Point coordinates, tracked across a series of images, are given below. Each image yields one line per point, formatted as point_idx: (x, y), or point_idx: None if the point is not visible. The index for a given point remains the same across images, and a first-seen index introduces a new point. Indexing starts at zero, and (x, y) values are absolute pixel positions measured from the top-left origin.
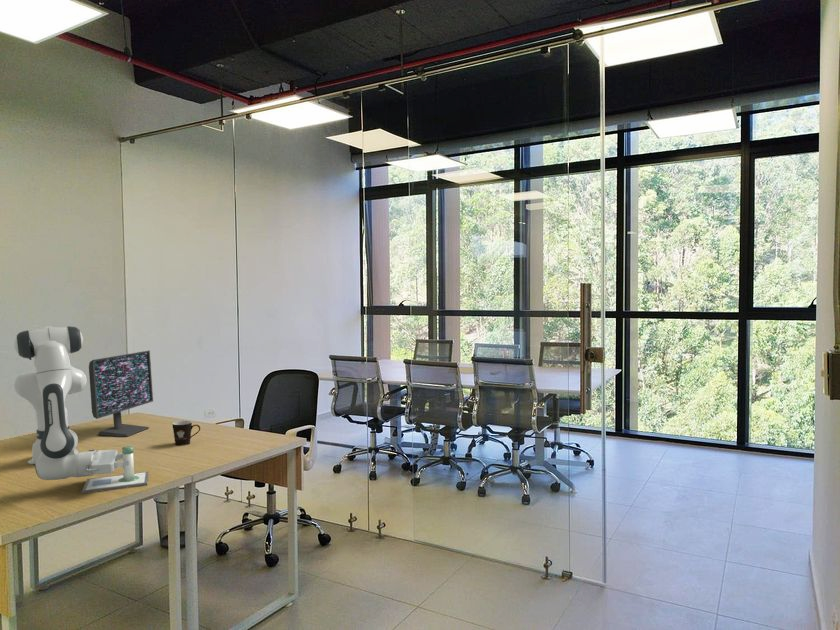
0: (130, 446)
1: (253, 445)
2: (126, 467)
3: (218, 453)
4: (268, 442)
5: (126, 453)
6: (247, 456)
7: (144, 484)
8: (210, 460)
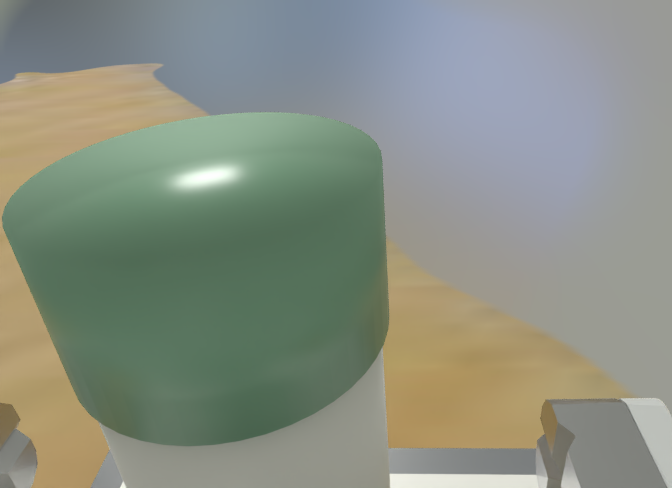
0: (122, 145)
1: (53, 111)
2: None
3: (37, 168)
4: (64, 94)
5: (382, 320)
6: (203, 116)
7: None
8: None
